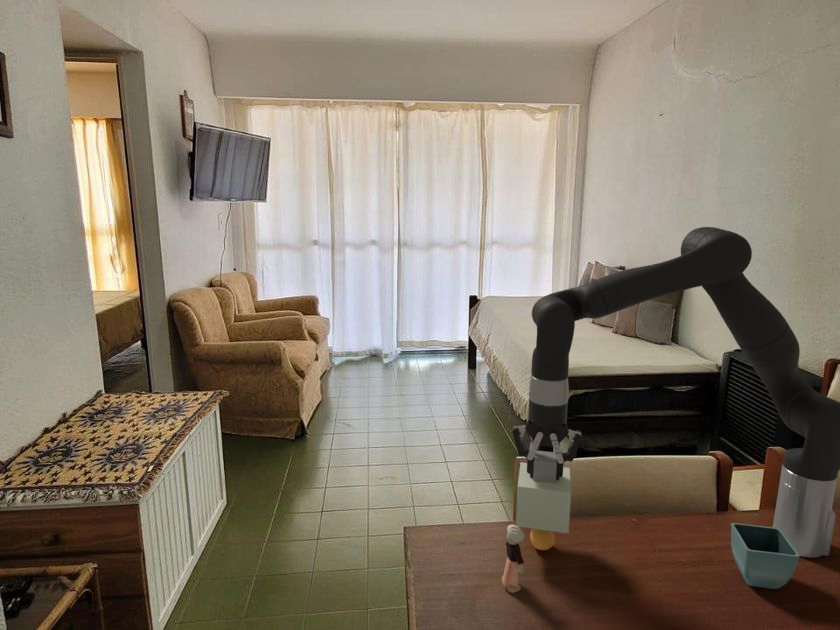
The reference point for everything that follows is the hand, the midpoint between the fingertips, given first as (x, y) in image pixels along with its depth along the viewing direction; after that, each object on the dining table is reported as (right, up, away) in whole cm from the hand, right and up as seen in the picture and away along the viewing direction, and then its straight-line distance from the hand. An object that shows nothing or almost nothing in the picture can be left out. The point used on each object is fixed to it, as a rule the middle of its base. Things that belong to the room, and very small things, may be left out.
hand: (544, 475), depth 109 cm
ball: (0, -14, +3) cm, 14 cm away
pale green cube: (0, -9, +2) cm, 9 cm away
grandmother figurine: (-8, -19, -8) cm, 22 cm away
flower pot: (+40, -18, -6) cm, 44 cm away
